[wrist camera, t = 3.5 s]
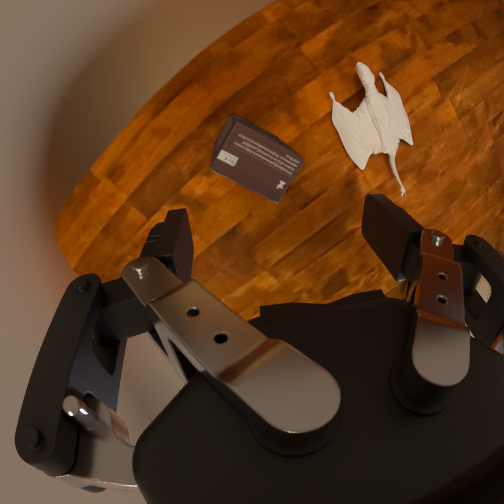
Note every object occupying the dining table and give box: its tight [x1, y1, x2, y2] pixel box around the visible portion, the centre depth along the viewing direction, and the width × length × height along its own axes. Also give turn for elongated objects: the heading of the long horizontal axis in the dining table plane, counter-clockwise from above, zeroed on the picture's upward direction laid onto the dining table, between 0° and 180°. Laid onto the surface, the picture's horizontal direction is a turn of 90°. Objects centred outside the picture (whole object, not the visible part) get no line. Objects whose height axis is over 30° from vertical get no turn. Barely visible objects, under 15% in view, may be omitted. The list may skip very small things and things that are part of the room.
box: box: [210, 113, 305, 203], centre depth 25 cm, size 6×4×12 cm
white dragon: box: [329, 62, 413, 197], centre depth 28 cm, size 18×10×4 cm, turn 29°
